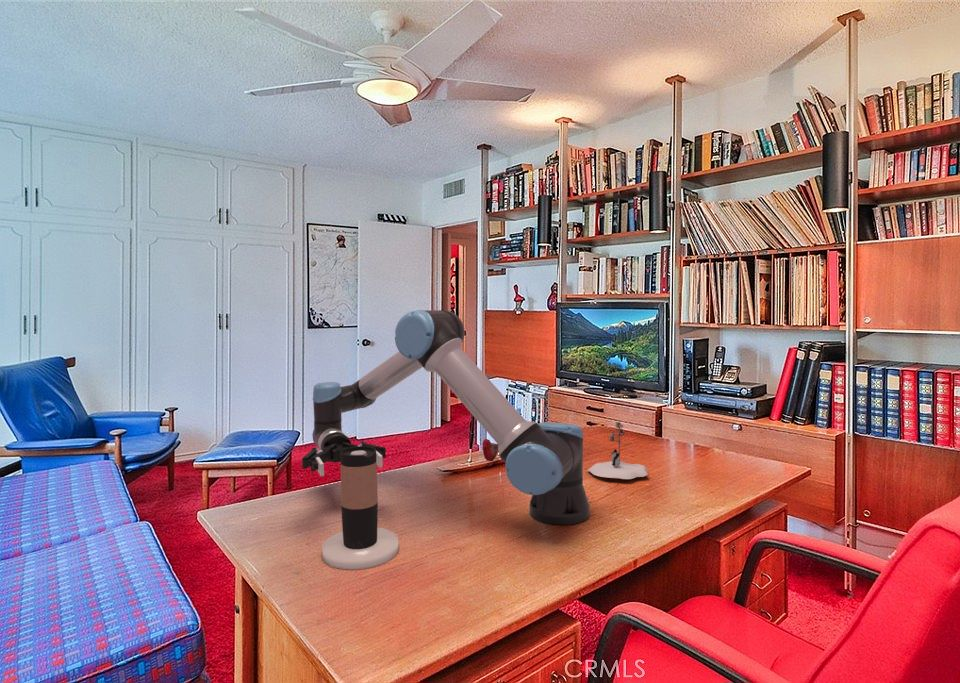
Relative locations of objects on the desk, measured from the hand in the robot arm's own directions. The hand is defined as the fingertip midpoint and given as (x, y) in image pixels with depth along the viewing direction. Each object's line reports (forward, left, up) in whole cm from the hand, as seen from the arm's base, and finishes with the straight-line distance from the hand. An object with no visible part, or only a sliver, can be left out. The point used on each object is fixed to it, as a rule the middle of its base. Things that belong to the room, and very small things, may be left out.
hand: (352, 465), depth 123 cm
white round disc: (-8, +7, -16) cm, 19 cm away
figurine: (-43, -72, -16) cm, 86 cm away
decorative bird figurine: (-3, -63, -16) cm, 65 cm away
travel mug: (-8, +7, -14) cm, 17 cm away
